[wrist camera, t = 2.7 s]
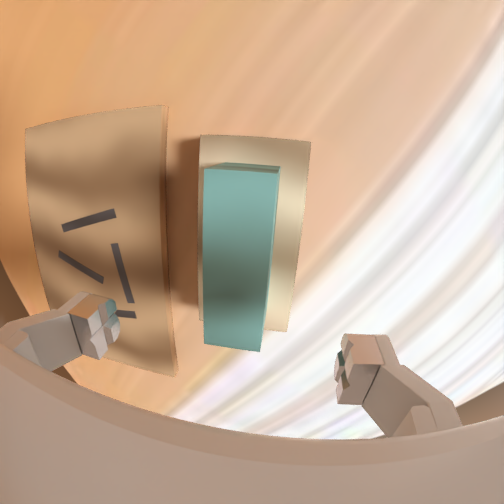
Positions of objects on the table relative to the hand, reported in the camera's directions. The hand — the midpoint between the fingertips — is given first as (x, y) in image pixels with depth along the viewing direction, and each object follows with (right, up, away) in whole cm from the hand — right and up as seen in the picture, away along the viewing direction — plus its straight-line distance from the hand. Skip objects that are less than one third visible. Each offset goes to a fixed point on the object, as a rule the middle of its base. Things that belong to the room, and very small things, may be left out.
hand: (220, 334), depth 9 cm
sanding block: (+1, +4, +10) cm, 11 cm away
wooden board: (-12, +3, +12) cm, 17 cm away
